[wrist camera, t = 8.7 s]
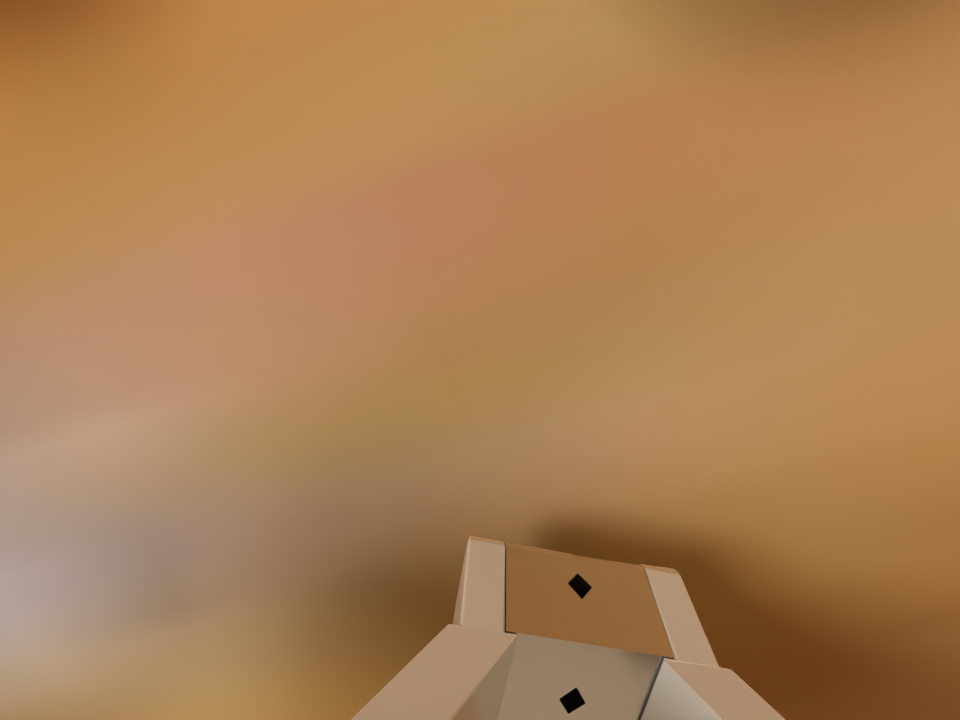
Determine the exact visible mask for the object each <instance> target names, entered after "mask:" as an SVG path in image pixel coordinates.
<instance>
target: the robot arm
mask: <svg viewBox="0 0 960 720" xmlns="http://www.w3.org/2000/svg"><path fill="white" fill-rule="evenodd" d="M351 720H785V719H784V718H783V717H782V716H781V715H780V714H779V713H778V712H777V711H776V710H774V709H773V708H772V707H771V706H770V705H769V704H768V703H767V702H766V701H765V700H764V699H763V698H762V697H760V696H759V695H758V694H757V693H756V692H755V691H754V690H753V689H752V688H751V687H750V686H749V685H747V684H746V683H745V682H744V681H743V680H742V679H741V678H740V677H739V676H738V675H737V674H736V673H735V672H733V671H732V670H731V669H727V668H721V667H719V665H718V662H717V660H716V658H715V655H714V653H713V651H712V648H711V646H710V644H709V641H708V639H707V637H706V634H705V632H704V630H703V627H702V625H701V622H700V620H699V618H698V615H697V613H696V611H695V608H694V606H693V604H692V601H691V599H690V597H689V594H688V592H687V590H686V587H685V585H684V583H683V580H682V578H681V575H680V574H679V573H678V572H677V571H676V570H675V569H673V568H666V567H659V566H651V565H644V564H639V565H636V564H630V563H624V562H618V561H611V560H605V559H599V558H592V557H586V556H580V555H573V554H570V553H564V552H559V551H554V550H548V549H543V548H538V547H532V546H527V545H522V544H516V543H511V542H506V541H505V542H504V543H503V541H498V540H493V539H487V538H481V537H475V536H469V539H468V542H467V547H466V552H465V557H464V562H463V568H462V573H461V578H460V583H459V589H458V594H457V599H456V605H455V611H454V617H453V623H452V624H448V625H447V626H446V627H445V628H444V629H443V630H442V631H441V632H440V633H439V634H438V635H437V636H436V637H434V638H433V639H432V640H431V641H430V642H429V643H428V644H427V645H426V646H425V647H424V648H423V649H422V650H421V651H420V652H419V653H418V654H417V655H416V656H415V657H414V658H413V659H412V660H411V661H410V662H409V663H408V664H407V665H406V666H405V667H404V668H403V669H402V670H401V671H400V672H399V673H398V674H397V675H396V676H395V677H394V678H393V679H392V680H391V681H390V682H389V683H388V684H386V685H385V686H384V687H383V688H382V689H381V690H380V691H379V692H378V693H377V694H376V695H375V696H374V697H373V698H372V699H371V700H370V701H369V702H368V703H367V704H366V705H365V706H364V707H363V708H362V709H361V710H360V711H359V712H358V713H357V714H356V715H355V716H354V717H353V718H352V719H351Z"/></svg>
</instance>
